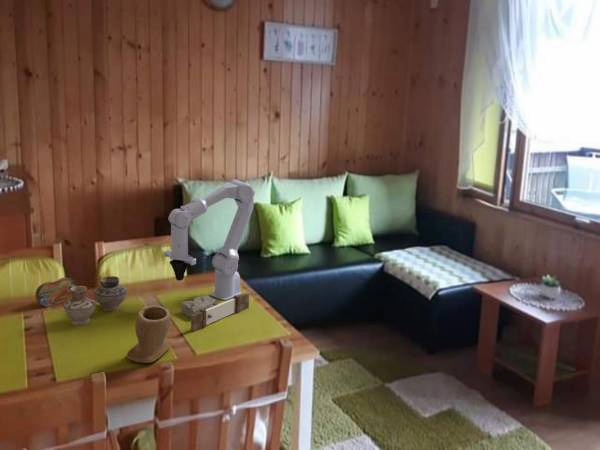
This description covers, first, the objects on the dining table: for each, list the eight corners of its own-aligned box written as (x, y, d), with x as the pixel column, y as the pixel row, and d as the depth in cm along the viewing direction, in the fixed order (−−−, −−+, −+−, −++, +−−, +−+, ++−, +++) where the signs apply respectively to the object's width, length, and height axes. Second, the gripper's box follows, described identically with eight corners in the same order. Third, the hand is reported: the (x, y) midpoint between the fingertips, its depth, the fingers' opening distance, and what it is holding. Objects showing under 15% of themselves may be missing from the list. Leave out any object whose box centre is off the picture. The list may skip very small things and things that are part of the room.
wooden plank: (245, 306, 217) (245, 291, 215) (249, 308, 216) (249, 292, 214) (190, 330, 196) (190, 313, 194) (194, 331, 194) (194, 314, 193)
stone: (175, 314, 207) (198, 322, 203) (177, 298, 206) (199, 306, 202) (199, 305, 219) (221, 313, 214) (201, 290, 218) (223, 298, 213)
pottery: (56, 324, 196) (54, 289, 193) (109, 299, 218) (108, 268, 215) (83, 331, 191) (81, 296, 188) (134, 305, 214) (133, 273, 211)
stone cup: (157, 369, 170) (156, 320, 166) (121, 361, 173) (119, 313, 169) (183, 347, 184) (183, 301, 180) (149, 340, 187) (148, 295, 183)
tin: (39, 309, 206) (38, 286, 204) (34, 307, 208) (33, 284, 206) (78, 297, 218) (77, 276, 216) (73, 295, 220) (72, 274, 218)
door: (234, 311, 211) (234, 298, 210) (237, 312, 210) (238, 299, 209) (203, 324, 200) (203, 310, 198) (207, 325, 199) (207, 311, 197)
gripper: (156, 241, 212) (157, 277, 215) (185, 249, 203) (185, 287, 207) (172, 237, 217) (172, 272, 221) (200, 245, 209) (200, 282, 212)
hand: (179, 279), depth 214 cm, fingers closed
